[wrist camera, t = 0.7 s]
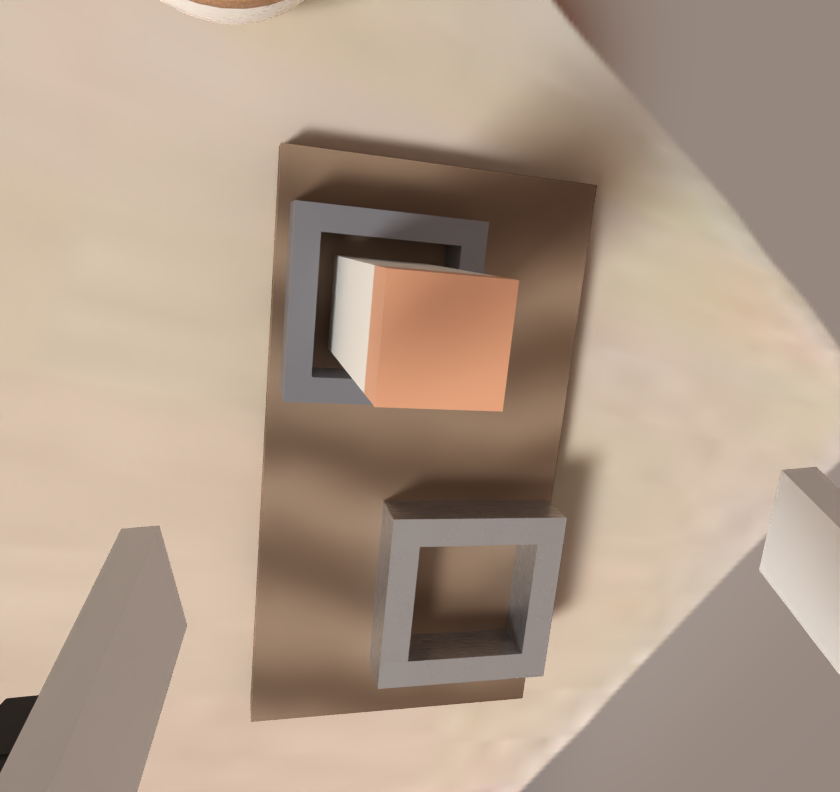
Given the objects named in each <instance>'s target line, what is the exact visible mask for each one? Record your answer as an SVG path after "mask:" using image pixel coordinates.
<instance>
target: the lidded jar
mask: <svg viewBox="0 0 840 792" xmlns="http://www.w3.org/2000/svg"><path fill="white" fill-rule="evenodd" d="M160 1H162V2H163V3H165V4H167V5H169V6H171V7H173V8H175V9H177V10H179V11H181V12H183V13H185V14H188V15H190V16H193V17H196V18H199V19H202V20H205V21H211V22H216V23H222V24H247V23H254V22H260V21H264V20H267V19H270V18H272V17H275V16H278V15H281V14H283V13H285V12H287V11H289V10H290V9H292V8H294V7H296V6H298V5H299V4H300V3H302V2H303V1H304V0H160Z"/></svg>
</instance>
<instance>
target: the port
mask: <svg viewBox="0 0 840 792" xmlns="http://www.w3.org/2000/svg"><path fill="white" fill-rule="evenodd" d="M566 522H567V517H566V516H565V515H563V514H562V513H561V512H560V511H559V510H558V509H557V508H555V507H554V506H553V505H552V504H551V503H550V502H548V501H547V500H499V501H383V511H382V522H381V533H380V544H379V555H378V566H377V577H376V588H375V599H374V610H373V621H372V632H371V643H370V654H369V663H370V666H371V669H372V673H373V676H374V679H375V682H376V685H377V689H384V688H397V687H410V686H423V685H435V684H448V683H461V682H474V681H486V680H499V679H512V678H525V677H537V676H543V674H544V667H545V661H546V654H547V648H548V641H549V634H550V628H551V621H552V615H553V608H554V601H555V595H556V588H557V582H558V575H559V568H560V562H561V555H562V549H563V542H564V535H565V529H566ZM488 545H517V546H516V553H515V561H514V568H513V575H512V583H511V590H510V597H509V605H508V612H507V619H506V627H505V629H498V630H480V631H463V632H445V633H428V634H411V628H412V618H413V609H414V599H415V590H416V580H417V570H418V561H419V551H420V547H442V546H488Z"/></svg>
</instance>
